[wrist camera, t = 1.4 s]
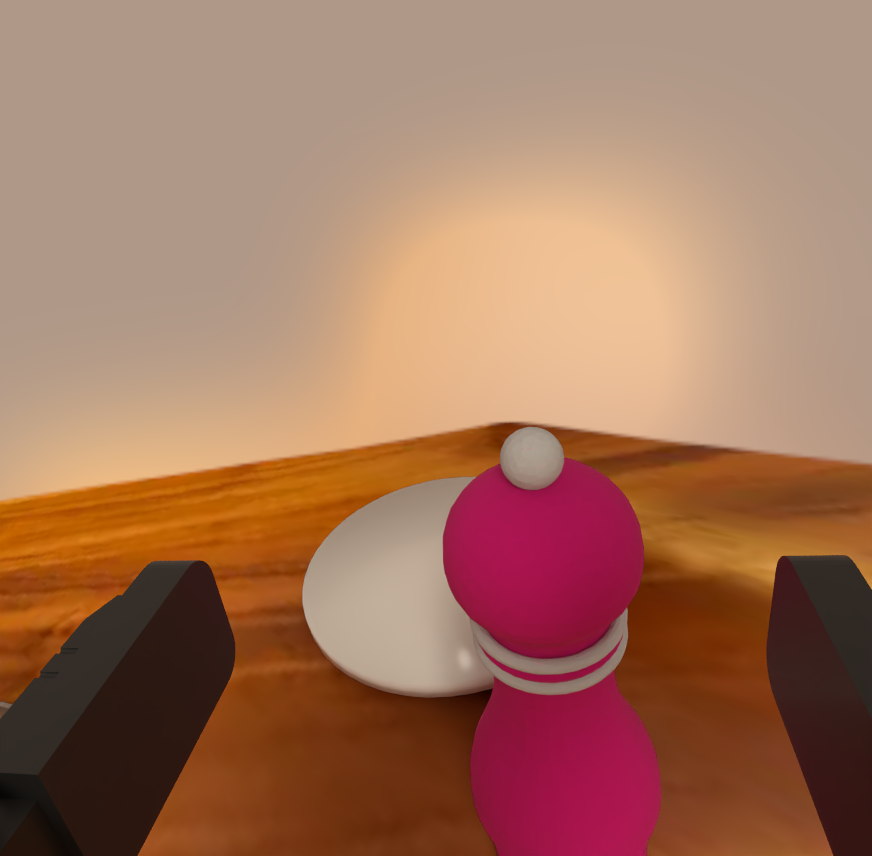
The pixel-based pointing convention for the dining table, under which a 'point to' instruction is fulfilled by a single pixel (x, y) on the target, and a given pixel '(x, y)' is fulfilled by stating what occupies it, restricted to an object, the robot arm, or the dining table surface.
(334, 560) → the plate
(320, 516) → the dining table surface
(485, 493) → the pepper mill
